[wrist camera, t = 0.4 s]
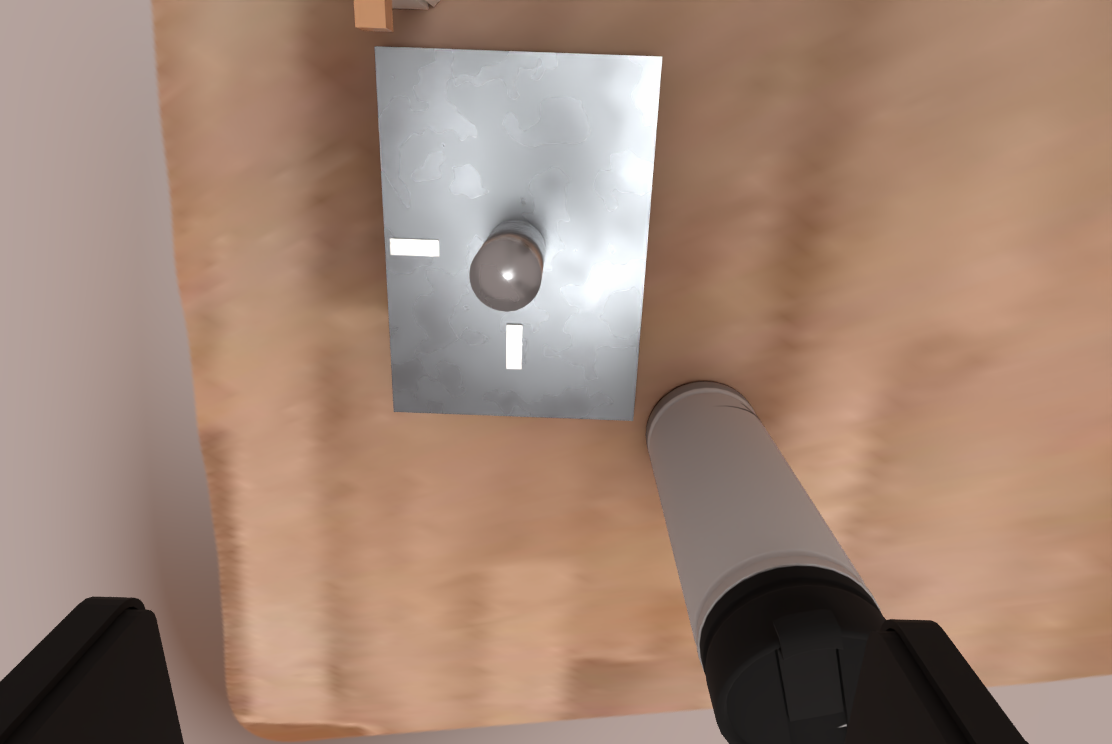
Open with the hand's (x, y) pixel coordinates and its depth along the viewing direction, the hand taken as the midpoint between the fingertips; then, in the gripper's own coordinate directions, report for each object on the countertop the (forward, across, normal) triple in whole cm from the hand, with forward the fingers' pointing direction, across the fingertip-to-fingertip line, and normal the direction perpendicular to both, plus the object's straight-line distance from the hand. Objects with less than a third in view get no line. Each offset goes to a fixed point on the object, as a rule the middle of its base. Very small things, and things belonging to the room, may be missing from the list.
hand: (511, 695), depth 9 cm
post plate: (+28, +2, -1) cm, 28 cm away
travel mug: (+29, -8, +9) cm, 31 cm away
